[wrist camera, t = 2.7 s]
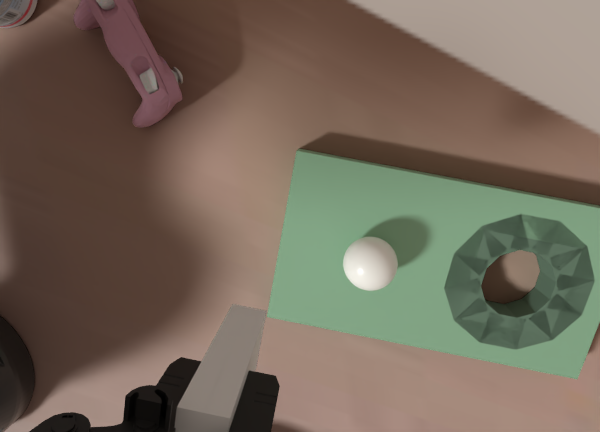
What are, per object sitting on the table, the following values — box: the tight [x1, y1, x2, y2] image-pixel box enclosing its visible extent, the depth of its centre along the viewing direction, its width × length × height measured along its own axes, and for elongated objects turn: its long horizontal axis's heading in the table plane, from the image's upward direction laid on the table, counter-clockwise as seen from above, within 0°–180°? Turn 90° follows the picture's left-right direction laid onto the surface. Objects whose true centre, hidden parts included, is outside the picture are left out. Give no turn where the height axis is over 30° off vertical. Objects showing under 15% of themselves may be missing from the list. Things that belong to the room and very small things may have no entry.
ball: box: [343, 237, 398, 291], centre depth 30 cm, size 4×4×4 cm
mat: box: [267, 149, 600, 379], centre depth 34 cm, size 26×14×2 cm, turn 80°
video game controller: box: [74, 0, 183, 127], centre depth 30 cm, size 10×5×7 cm, turn 28°
